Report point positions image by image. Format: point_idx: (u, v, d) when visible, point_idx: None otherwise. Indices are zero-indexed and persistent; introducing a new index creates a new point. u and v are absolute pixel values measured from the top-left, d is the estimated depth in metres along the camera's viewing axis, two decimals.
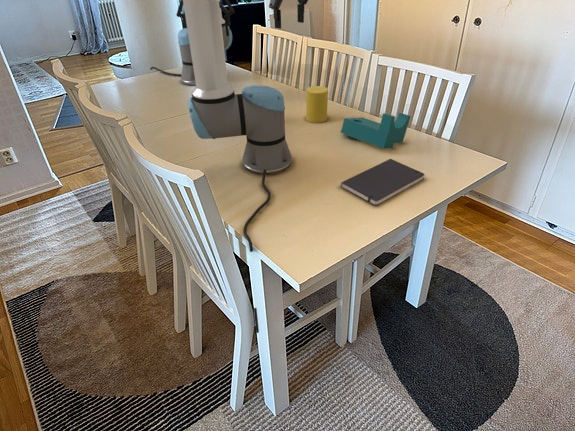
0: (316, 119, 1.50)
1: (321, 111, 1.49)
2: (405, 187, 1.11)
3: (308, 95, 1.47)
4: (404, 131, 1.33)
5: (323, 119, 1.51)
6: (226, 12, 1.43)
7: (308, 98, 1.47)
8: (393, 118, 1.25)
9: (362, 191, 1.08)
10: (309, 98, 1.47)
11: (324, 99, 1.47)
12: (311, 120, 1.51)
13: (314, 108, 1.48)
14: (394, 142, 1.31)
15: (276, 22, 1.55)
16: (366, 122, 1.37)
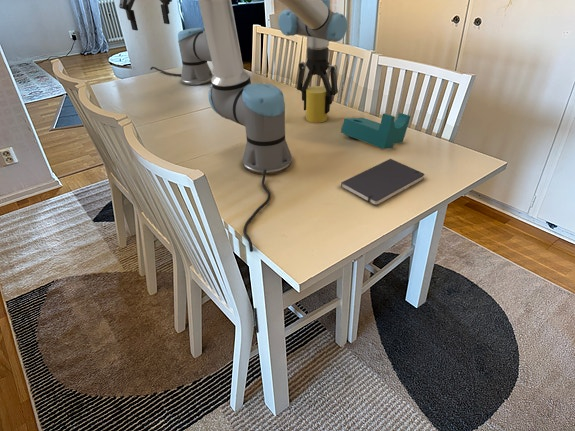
0: (316, 119, 1.50)
1: (321, 111, 1.49)
2: (405, 187, 1.11)
3: (308, 95, 1.47)
4: (404, 131, 1.33)
5: (323, 119, 1.51)
6: (328, 92, 1.45)
7: (308, 98, 1.47)
8: (393, 118, 1.25)
9: (362, 191, 1.08)
10: (309, 98, 1.47)
11: (324, 99, 1.47)
12: (311, 120, 1.51)
13: (314, 108, 1.48)
14: (394, 142, 1.31)
15: (132, 23, 1.45)
16: (366, 122, 1.37)
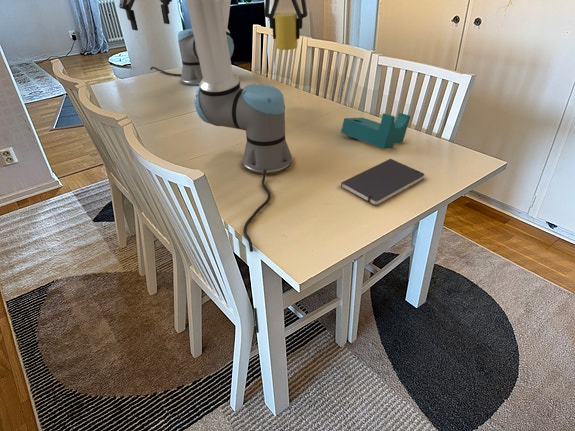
0: (288, 46, 1.46)
1: (293, 36, 1.45)
2: (405, 187, 1.11)
3: (278, 20, 1.41)
4: (404, 131, 1.33)
5: (295, 46, 1.47)
6: (299, 15, 1.41)
7: (279, 23, 1.42)
8: (393, 118, 1.25)
9: (362, 191, 1.08)
10: (279, 23, 1.42)
11: (295, 23, 1.43)
12: (283, 48, 1.46)
13: (287, 33, 1.43)
14: (394, 142, 1.31)
15: (132, 23, 1.45)
16: (366, 122, 1.37)
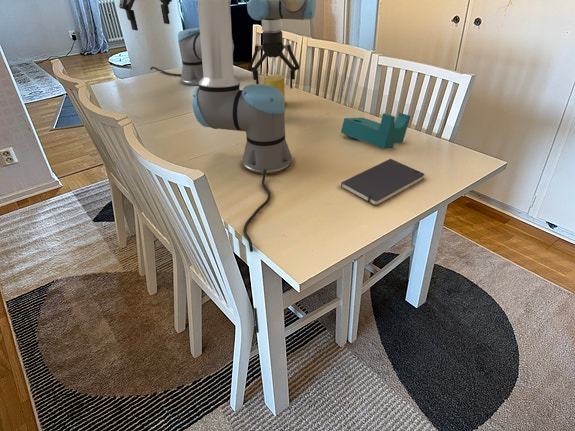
0: None
1: None
2: (405, 187, 1.11)
3: (269, 83, 1.59)
4: (404, 131, 1.33)
5: None
6: (292, 68, 1.57)
7: None
8: (393, 118, 1.25)
9: (362, 191, 1.08)
10: None
11: (283, 85, 1.61)
12: None
13: None
14: (394, 142, 1.31)
15: (132, 23, 1.45)
16: (366, 122, 1.37)
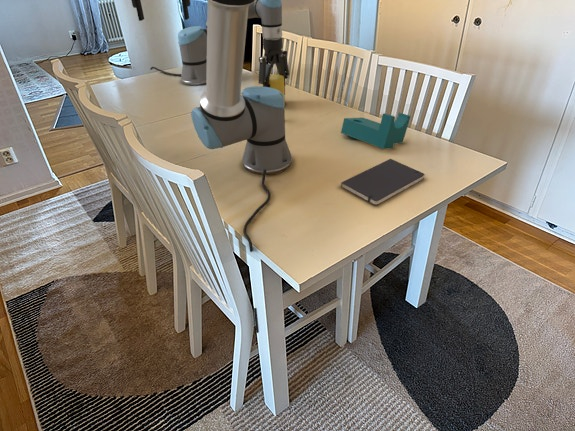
0: None
1: None
2: (405, 187, 1.11)
3: (269, 83, 1.59)
4: (404, 131, 1.33)
5: None
6: None
7: None
8: (393, 118, 1.25)
9: (362, 191, 1.08)
10: None
11: (283, 85, 1.61)
12: None
13: None
14: (394, 142, 1.31)
15: None
16: (366, 122, 1.37)
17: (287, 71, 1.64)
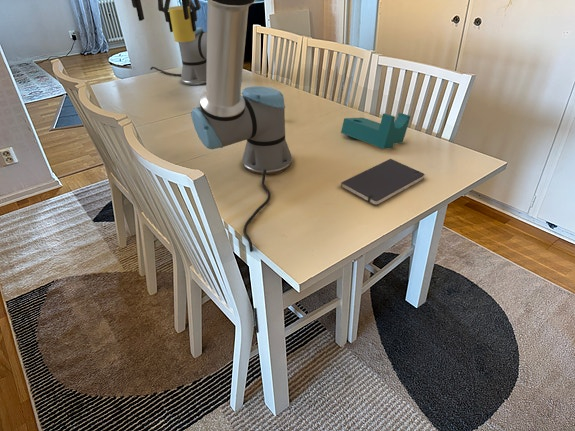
0: (177, 38, 1.52)
1: (180, 30, 1.50)
2: (405, 187, 1.11)
3: None
4: (404, 131, 1.33)
5: (184, 39, 1.52)
6: None
7: (170, 15, 1.50)
8: (393, 118, 1.25)
9: (362, 191, 1.08)
10: None
11: (181, 17, 1.48)
12: (174, 39, 1.54)
13: (174, 25, 1.50)
14: (394, 142, 1.31)
15: None
16: (366, 122, 1.37)
17: (196, 4, 1.47)
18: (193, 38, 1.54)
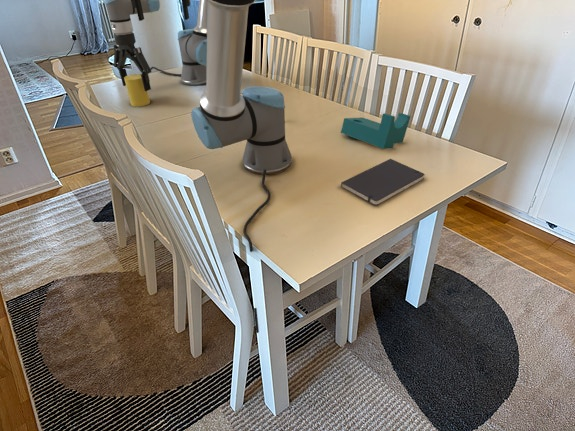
0: (130, 102, 1.70)
1: (130, 96, 1.67)
2: (405, 187, 1.11)
3: None
4: (404, 131, 1.33)
5: (134, 104, 1.69)
6: None
7: None
8: (393, 118, 1.25)
9: (362, 191, 1.08)
10: None
11: (130, 86, 1.64)
12: None
13: None
14: (394, 142, 1.31)
15: None
16: (366, 122, 1.37)
17: (144, 69, 1.59)
18: (143, 104, 1.70)
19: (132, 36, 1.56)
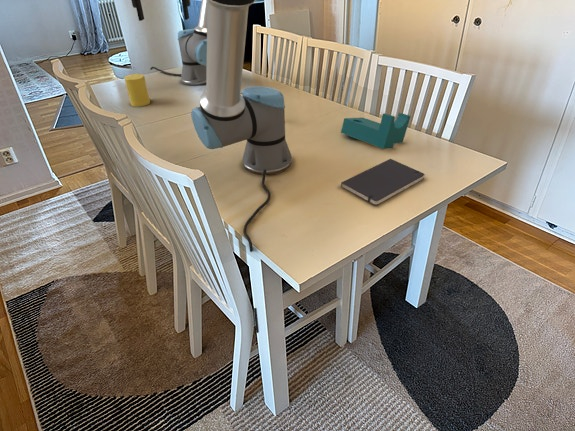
0: (130, 102, 1.70)
1: (130, 96, 1.67)
2: (405, 187, 1.11)
3: None
4: (404, 131, 1.33)
5: (134, 104, 1.69)
6: None
7: None
8: (393, 118, 1.25)
9: (362, 191, 1.08)
10: None
11: (130, 86, 1.64)
12: None
13: None
14: (394, 142, 1.31)
15: None
16: (366, 122, 1.37)
17: None
18: (143, 104, 1.70)
19: None
